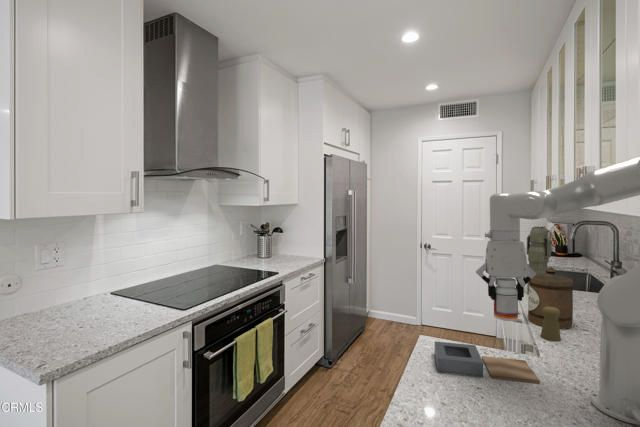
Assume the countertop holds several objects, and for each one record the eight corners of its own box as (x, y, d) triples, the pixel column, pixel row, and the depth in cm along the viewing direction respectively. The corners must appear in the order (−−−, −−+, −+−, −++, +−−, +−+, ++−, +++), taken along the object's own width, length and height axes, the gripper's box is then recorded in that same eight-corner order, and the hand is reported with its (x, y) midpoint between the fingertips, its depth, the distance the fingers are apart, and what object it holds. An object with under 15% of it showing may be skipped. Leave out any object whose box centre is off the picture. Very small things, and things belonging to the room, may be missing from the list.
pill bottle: (497, 313, 103) (496, 275, 103) (520, 317, 99) (520, 278, 99) (491, 318, 99) (490, 279, 98) (515, 323, 95) (514, 282, 94)
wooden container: (529, 313, 148) (530, 263, 147) (571, 320, 140) (573, 266, 139) (526, 324, 136) (528, 269, 135) (573, 332, 128) (575, 273, 127)
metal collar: (483, 377, 96) (483, 363, 96) (437, 371, 99) (437, 358, 99) (474, 357, 107) (475, 345, 107) (434, 353, 110) (434, 341, 110)
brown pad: (539, 383, 92) (539, 380, 92) (491, 378, 95) (491, 375, 95) (524, 362, 104) (525, 360, 104) (481, 358, 107) (481, 356, 107)
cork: (564, 342, 119) (565, 310, 119) (544, 340, 120) (545, 309, 120) (556, 335, 125) (556, 305, 124) (537, 334, 126) (538, 304, 126)
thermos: (545, 299, 170) (547, 228, 168) (520, 293, 180) (522, 226, 178) (554, 296, 174) (556, 227, 173) (530, 291, 184) (532, 225, 183)
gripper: (475, 237, 97) (476, 301, 97) (544, 237, 93) (545, 304, 93) (469, 235, 104) (470, 294, 104) (533, 235, 100) (534, 296, 100)
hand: (505, 298), depth 99 cm, fingers closed on pill bottle, 6 cm apart
